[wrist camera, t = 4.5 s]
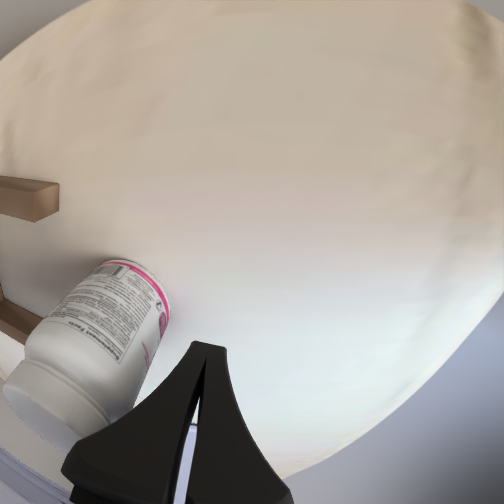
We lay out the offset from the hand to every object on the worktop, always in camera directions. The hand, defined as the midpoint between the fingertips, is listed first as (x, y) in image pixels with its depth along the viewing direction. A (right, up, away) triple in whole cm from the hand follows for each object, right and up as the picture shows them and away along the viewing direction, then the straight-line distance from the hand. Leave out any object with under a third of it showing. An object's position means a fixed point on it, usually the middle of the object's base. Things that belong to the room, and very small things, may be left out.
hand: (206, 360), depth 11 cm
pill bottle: (-4, +2, +3) cm, 5 cm away
